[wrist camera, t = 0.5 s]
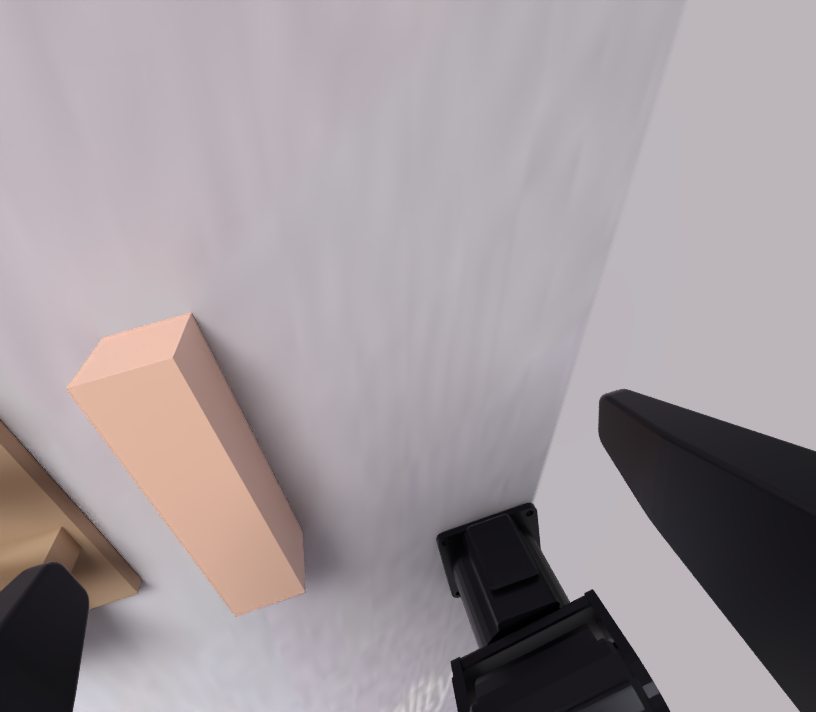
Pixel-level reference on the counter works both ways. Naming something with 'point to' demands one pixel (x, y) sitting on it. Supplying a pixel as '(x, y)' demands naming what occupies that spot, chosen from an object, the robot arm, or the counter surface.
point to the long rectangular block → (194, 458)
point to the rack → (53, 530)
